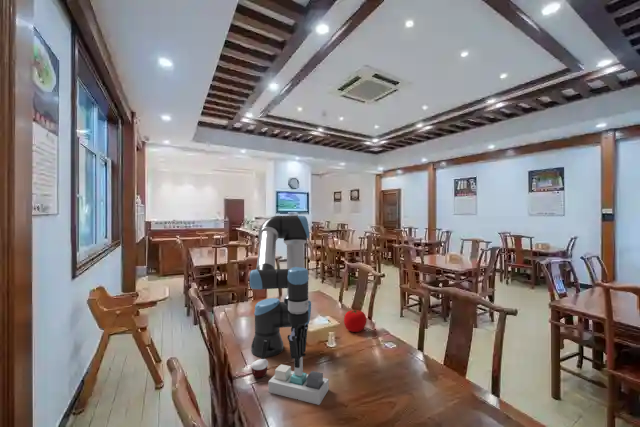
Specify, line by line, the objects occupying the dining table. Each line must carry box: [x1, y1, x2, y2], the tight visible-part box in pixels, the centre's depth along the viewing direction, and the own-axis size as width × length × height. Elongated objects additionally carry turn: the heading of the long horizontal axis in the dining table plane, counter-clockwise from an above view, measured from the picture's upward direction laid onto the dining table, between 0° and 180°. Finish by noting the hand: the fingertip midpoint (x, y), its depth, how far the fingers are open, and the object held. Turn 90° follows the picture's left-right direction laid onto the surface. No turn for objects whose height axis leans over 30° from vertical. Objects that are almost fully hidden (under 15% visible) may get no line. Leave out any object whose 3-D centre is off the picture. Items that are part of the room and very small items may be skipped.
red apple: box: [343, 309, 367, 333], centre depth 166 cm, size 12×13×11 cm
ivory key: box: [274, 364, 292, 382], centre depth 114 cm, size 4×4×4 cm
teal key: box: [291, 372, 308, 386], centre depth 111 cm, size 4×4×4 cm
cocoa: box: [250, 340, 269, 379], centre depth 122 cm, size 10×6×12 cm, turn 139°
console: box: [267, 370, 330, 406], centre depth 111 cm, size 20×9×4 cm, turn 68°
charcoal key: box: [307, 370, 324, 390], centre depth 109 cm, size 4×4×4 cm
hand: (298, 374), depth 111 cm, fingers closed
